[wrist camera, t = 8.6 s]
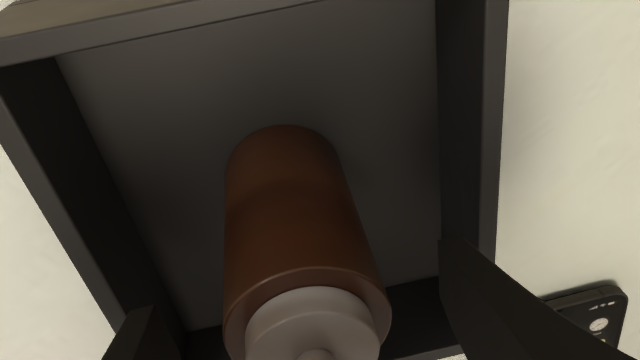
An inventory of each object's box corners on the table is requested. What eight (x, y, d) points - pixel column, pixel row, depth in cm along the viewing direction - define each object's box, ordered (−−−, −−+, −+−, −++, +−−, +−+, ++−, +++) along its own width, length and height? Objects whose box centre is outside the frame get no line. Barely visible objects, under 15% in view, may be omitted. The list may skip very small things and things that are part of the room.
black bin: (451, 273, 22) (491, 347, 19) (178, 335, 22) (168, 423, 18) (446, -87, 14) (513, -67, 11) (12, 2, 14) (-58, 49, 10)
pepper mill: (347, 208, 19) (417, 422, 12) (241, 231, 18) (247, 462, 11) (331, 112, 16) (407, 306, 9) (210, 138, 16) (195, 355, 9)
